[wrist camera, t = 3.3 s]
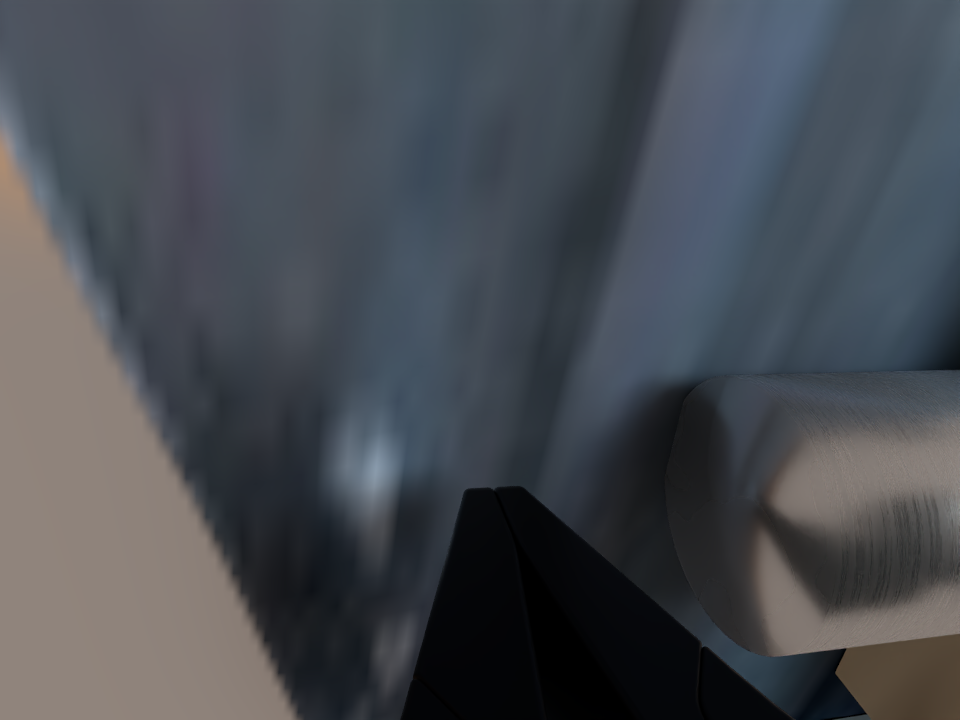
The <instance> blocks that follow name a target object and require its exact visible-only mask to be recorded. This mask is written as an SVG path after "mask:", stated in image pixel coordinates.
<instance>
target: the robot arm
mask: <svg viewBox="0 0 960 720" xmlns="http://www.w3.org/2000/svg"><path fill="white" fill-rule="evenodd" d="M400 720H795V719H794V718H792V717H791V716H790V715H788V714H787V713H786V712H784V711H783V710H782V709H781V708H779V707H778V706H777V705H775V704H774V703H773V702H772V701H770V700H769V699H768V698H767V697H766V696H764V695H763V694H762V693H761V692H760V691H758V690H757V689H756V688H755V687H754V686H752V685H751V684H750V683H749V682H748V681H746V680H745V679H744V678H743V677H742V676H740V675H739V674H738V673H737V672H736V671H734V670H733V669H732V668H731V667H730V666H729V665H727V664H726V663H725V662H724V661H723V660H722V659H721V658H719V657H718V656H717V655H716V654H715V653H714V652H712V651H711V650H710V649H709V648H708V647H703V648H702V643H701V642H700V641H699V640H698V639H697V638H696V637H695V636H694V635H693V634H691V633H690V632H689V631H688V630H687V629H686V628H685V627H683V626H682V625H681V624H680V623H679V622H678V621H676V620H675V619H674V618H673V617H672V616H671V615H670V614H668V613H667V612H666V611H665V610H664V609H663V608H662V607H660V606H659V605H658V604H657V603H656V602H655V601H653V600H652V599H651V598H650V597H649V596H648V595H647V594H645V593H644V592H643V591H642V590H641V589H640V588H639V587H637V586H636V585H635V584H634V583H633V582H632V581H630V580H629V579H628V578H627V577H626V576H625V575H624V574H622V573H621V572H620V571H619V570H618V569H617V568H615V567H614V566H613V565H612V564H611V563H610V562H609V561H607V560H606V559H605V558H604V557H603V556H602V555H601V554H599V553H598V552H597V551H596V550H595V549H594V548H592V547H591V546H590V545H589V544H588V543H587V542H586V541H584V540H583V539H582V538H581V537H580V536H579V535H578V534H576V533H575V532H574V531H573V530H572V529H571V528H569V527H568V526H567V525H566V524H565V523H564V522H563V521H561V520H560V519H559V518H558V517H557V516H556V515H555V514H553V513H552V512H551V511H550V510H549V509H548V508H546V507H545V506H544V505H543V504H542V503H541V502H540V501H538V500H537V499H536V498H535V497H534V496H533V495H531V494H530V493H529V492H528V491H527V490H526V489H524V488H523V487H521V486H507V487H497V488H495V489H494V491H493V489H491V488H470V489H467V490H465V492H464V494H463V498H462V501H461V505H460V509H459V512H458V516H457V519H456V523H455V527H454V530H453V534H452V537H451V541H450V545H449V548H448V552H447V555H446V559H445V563H444V566H443V570H442V573H441V577H440V581H439V584H438V588H437V591H436V595H435V599H434V602H433V606H432V610H431V613H430V617H429V620H428V624H427V628H426V631H425V635H424V638H423V642H422V646H421V649H420V653H419V656H418V660H417V664H416V667H415V671H414V674H413V680H412V681H411V684H410V687H409V691H408V695H407V698H406V702H405V706H404V709H403V713H402V716H401V719H400Z"/></svg>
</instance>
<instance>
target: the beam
mask: <svg viewBox="0 0 960 720" xmlns="http://www.w3.org/2000/svg"><path fill="white" fill-rule="evenodd" d="M835 674H836V675H837V676H838V677H839V679H840V680H841V681H842V683H843V684H844V685H845V686H846V688H847V689H848V690H849V691H850V693H851V694H852V695H853V697H854V698H855V699H856V700H857V702H858V703H859V704H860V706H861V707H862V708H863V709H864V711H865V712H866V713H867V714H868V716H869V717H870V718H871V720H960V634H954V635H946V636H938V637H930V638H922V639H914V640H906V641H898V642H890V643H882V644H874V645H866V646H858V647H851V648H847V649H846V651H845V653H844V656H843V658H842V660H841V662H840V664H839V666H838V668H837V670H836V672H835Z"/></svg>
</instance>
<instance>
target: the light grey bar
mask: <svg viewBox="0 0 960 720" xmlns="http://www.w3.org/2000/svg"><path fill="white" fill-rule="evenodd" d="M664 487H665V501H666V509H667V516H668V521H669V526H670V531H671V535H672V539H673V543H674V546H675V549H676V552H677V556H678V559H679V561H680V564H681V566H682V569H683V572H684V574H685V576H686V578H687V580H688V583H689V585H690V587H691V589H692V590H693V592H694V594H695V596H696V598H697V599H698V601H699V603H700V604H701V606H702V607H703V609H704V610H705V612H706V613H707V614H708V616H709V617H710V618H711V620H712V621H713V622H714V623H715V625H716V626H717V627H718V628H719V629H720V630H721V631H722V632H723V633H724V634H725V635H726V636H728V637H729V638H730V639H731V640H732V641H734V642H735V643H736V644H738V645H739V646H741V647H743V648H744V649H746V650H748V651H750V652H753V653H755V654H758V655H763V656H768V657H776V656H787V655H795V654H803V653H811V652H819V651H827V650H835V649H843V648H851V647H858V646H866V645H874V644H882V643H890V642H898V641H906V640H914V639H922V638H930V637H938V636H946V635H954V634H960V370H928V371H887V372H847V373H806V374H765V375H725V376H717V377H713V378H711V379H708V380H705V381H704V382H702V383H701V384H699V385H697V386H696V387H695V388H694V389H693V390H692V391H691V392H690V393H689V394H688V396H687V397H686V398H685V399H684V401H683V405H682V409H681V413H680V417H679V421H678V425H677V429H676V433H675V437H674V441H673V445H672V449H671V453H670V457H669V461H668V465H667V469H666V473H665V477H664Z"/></svg>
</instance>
